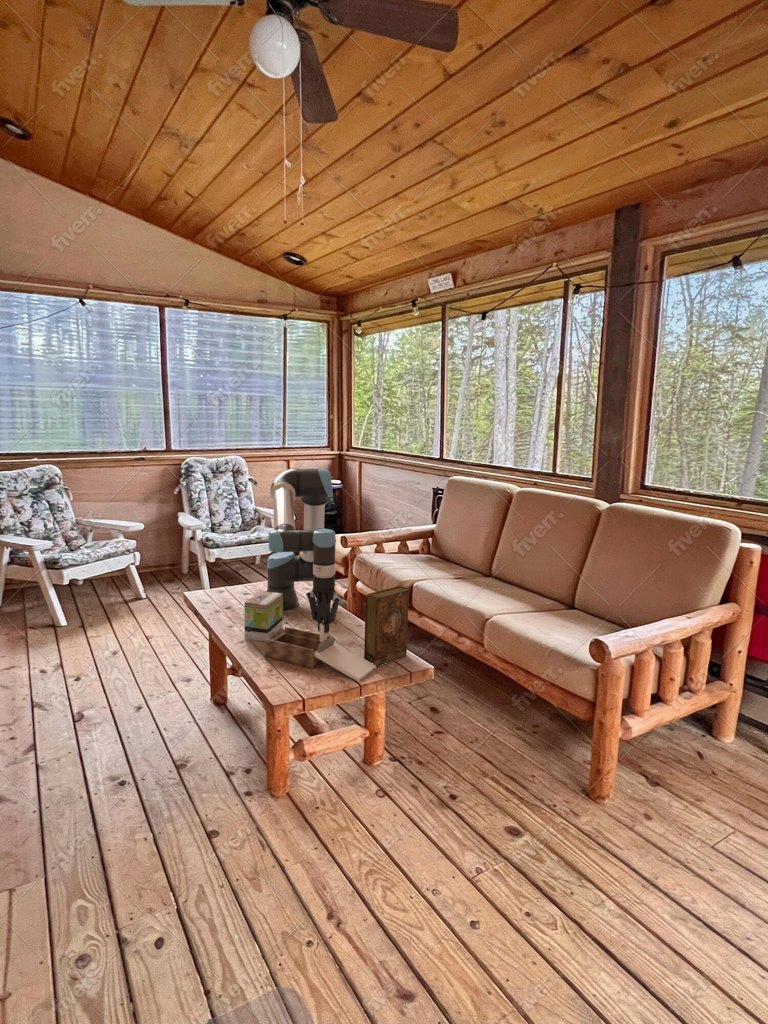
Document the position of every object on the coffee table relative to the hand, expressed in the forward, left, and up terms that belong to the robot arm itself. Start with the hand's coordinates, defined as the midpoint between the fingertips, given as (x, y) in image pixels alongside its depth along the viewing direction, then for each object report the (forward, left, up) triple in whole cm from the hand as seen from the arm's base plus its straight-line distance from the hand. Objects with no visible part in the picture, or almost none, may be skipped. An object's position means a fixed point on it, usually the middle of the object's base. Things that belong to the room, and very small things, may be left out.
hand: (323, 640), depth 202 cm
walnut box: (0, -10, -8) cm, 13 cm away
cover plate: (+1, +9, -6) cm, 11 cm away
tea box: (-11, -33, -8) cm, 36 cm away
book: (-12, +19, -8) cm, 24 cm away
